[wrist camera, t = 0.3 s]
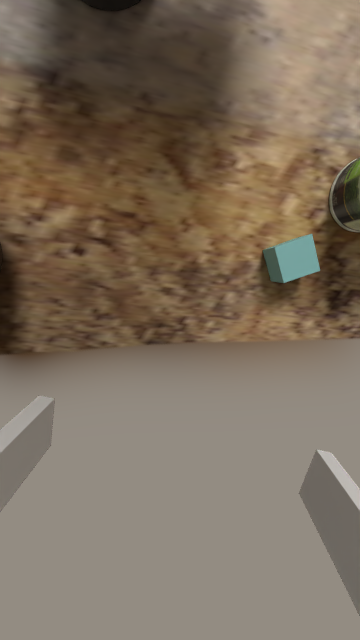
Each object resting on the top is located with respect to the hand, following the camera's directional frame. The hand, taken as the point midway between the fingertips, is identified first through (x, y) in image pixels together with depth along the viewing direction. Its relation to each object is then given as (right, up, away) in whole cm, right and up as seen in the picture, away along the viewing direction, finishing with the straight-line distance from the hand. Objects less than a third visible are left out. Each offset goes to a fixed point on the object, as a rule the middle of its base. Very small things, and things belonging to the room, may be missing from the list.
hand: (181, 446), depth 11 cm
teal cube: (+16, +16, +24) cm, 33 cm away
